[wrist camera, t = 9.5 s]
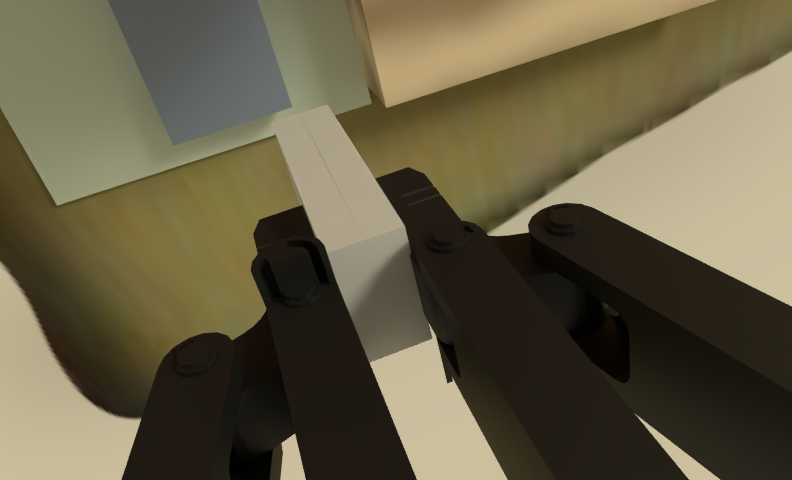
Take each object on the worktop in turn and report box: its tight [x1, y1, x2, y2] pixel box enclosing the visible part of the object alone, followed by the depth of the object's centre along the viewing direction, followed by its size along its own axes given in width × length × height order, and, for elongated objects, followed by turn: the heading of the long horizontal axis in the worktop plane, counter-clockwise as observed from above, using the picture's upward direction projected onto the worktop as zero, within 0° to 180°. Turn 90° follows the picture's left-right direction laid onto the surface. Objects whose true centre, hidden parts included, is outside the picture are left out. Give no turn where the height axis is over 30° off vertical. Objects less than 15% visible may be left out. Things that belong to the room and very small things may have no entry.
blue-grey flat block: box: [108, 0, 292, 146], centre depth 31 cm, size 8×6×2 cm
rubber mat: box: [0, 0, 372, 205], centre depth 32 cm, size 11×17×1 cm, turn 103°
